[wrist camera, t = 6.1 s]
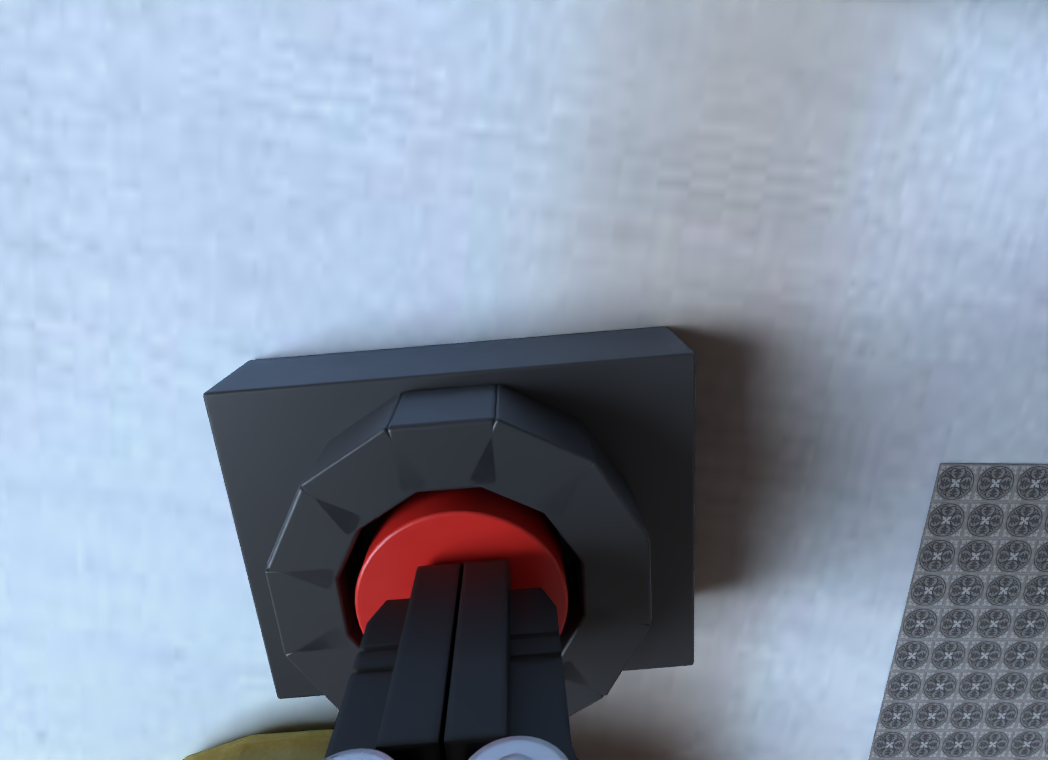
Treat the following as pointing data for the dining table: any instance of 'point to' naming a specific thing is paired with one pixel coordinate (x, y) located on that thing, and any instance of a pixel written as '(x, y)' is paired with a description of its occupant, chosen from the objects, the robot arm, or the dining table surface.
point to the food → (271, 747)
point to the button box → (468, 485)
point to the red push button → (460, 545)
